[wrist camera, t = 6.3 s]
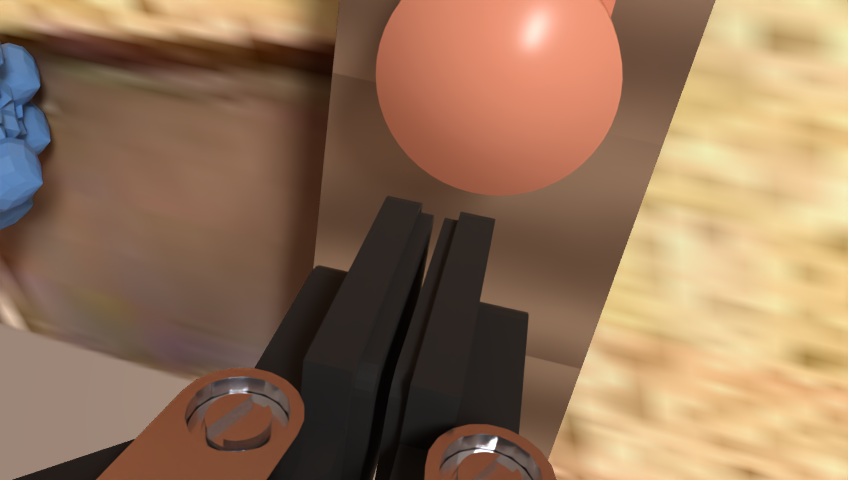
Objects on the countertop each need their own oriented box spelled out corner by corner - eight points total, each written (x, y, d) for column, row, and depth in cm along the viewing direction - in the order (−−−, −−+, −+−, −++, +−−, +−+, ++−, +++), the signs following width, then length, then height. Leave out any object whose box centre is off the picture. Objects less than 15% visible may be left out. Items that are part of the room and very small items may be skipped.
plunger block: (398, -171, 27) (356, -174, 22) (715, -110, 26) (751, -98, 21) (332, 353, 40) (297, 429, 35) (541, 405, 39) (536, 491, 34)
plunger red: (440, -95, 23) (393, -72, 17) (634, -56, 23) (658, -18, 17) (411, 91, 26) (362, 167, 20) (580, 128, 26) (582, 218, 20)
